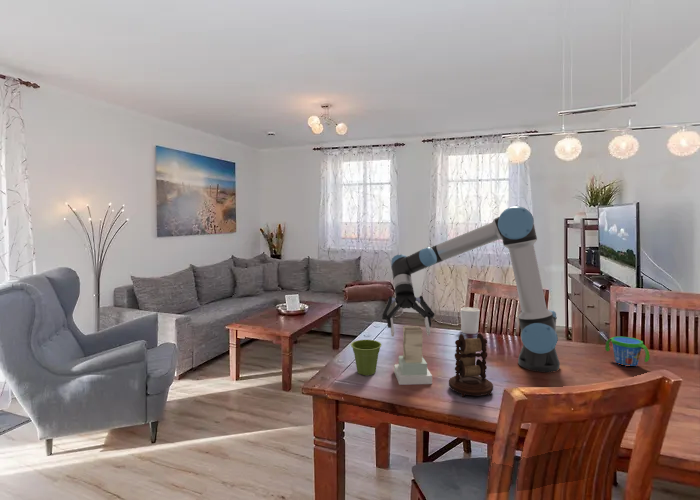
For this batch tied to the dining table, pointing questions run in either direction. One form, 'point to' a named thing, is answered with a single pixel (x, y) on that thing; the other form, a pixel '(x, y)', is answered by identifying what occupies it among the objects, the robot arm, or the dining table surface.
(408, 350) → the maple brick
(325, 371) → the dining table surface
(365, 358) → the plant pot
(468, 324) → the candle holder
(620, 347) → the snack cup
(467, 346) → the brown wooden spool stand
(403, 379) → the tower base
